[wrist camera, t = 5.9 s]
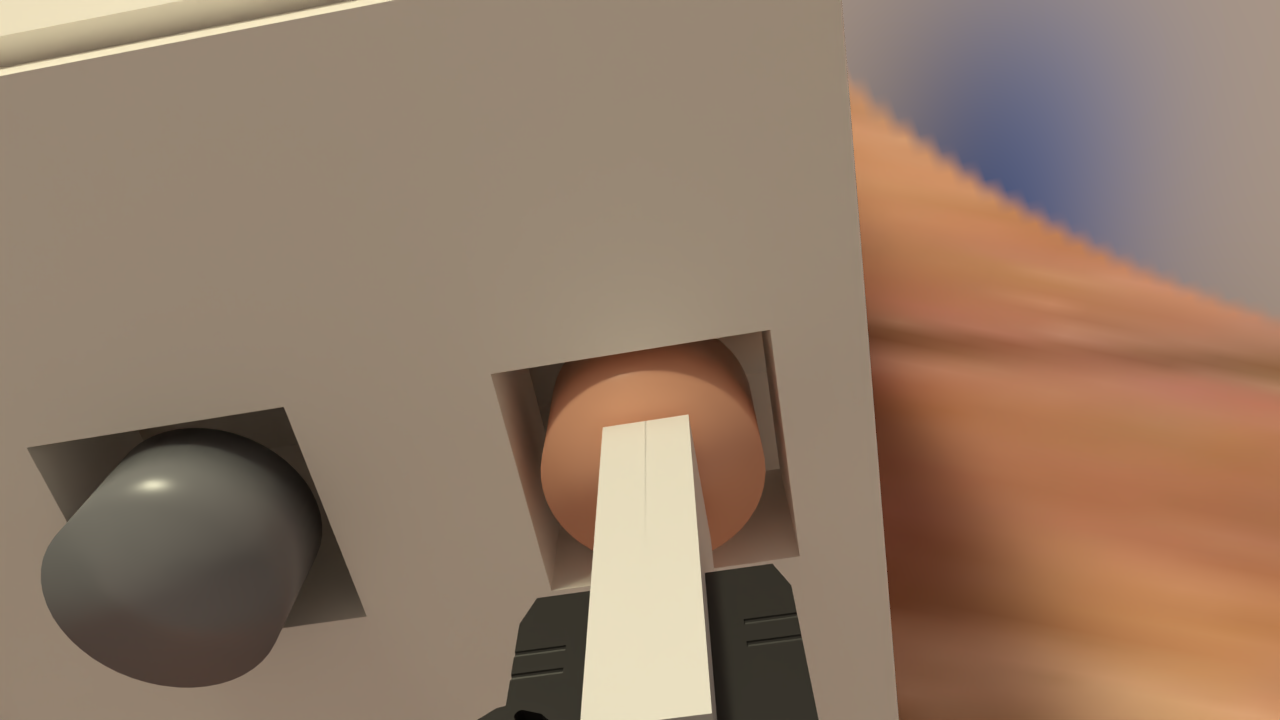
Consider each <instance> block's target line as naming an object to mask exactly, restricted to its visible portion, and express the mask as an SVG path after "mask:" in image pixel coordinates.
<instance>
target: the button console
mask: <svg viewBox="0 0 1280 720" xmlns="http://www.w3.org/2000/svg"><path fill="white" fill-rule="evenodd" d="M715 338H717V339H718V340H720V341H721V342H722V343H723V344H724V345H725V346H726V347H727V348H729V349H730V350H731V352H732V353H733V354H734V355H735V357H736V358H737V359H738V361H739V362H740V364H741V366H742V368H743V369H744V371H745V374H746V376H747V379H748V382H749V386H750V390H751V395H752V400H753V404H754V409H755V414H756V419H757V424H758V429H759V434H760V438H761V443H762V448H763V453H764V458H765V471H766V472H765V483H764V487H763V491H762V495H761V498H760V500H759V503H758V505H757V507H756V509H755V511H754V512H753V514H752V516H751V517H750V519H749V520H748V521H747V523H746V524H745V525H744V526H743V528H742V529H741V530H740V531H739V532H738V533H736V534H735V535H734V536H733V537H732V538H731V539H729V540H728V541H727V542H725V543H724V544H723V545H721V546H719V547H718V548H716V549H714V550H713V551H712V554H713V565H714V571H722V570H729V569H736V568H743V567H751V566H758V565H765V564H773V565H774V566H775V567H776V568H777V569H778V571H779V572H780V573H781V574H782V575H783V576H784V577H785V579H786V580H787V581H788V582H789V583H790V584H791V586H792V591H793V596H794V601H795V606H796V611H797V616H798V621H799V625H800V630H801V636H802V640H803V645H804V650H805V655H806V660H807V665H808V670H809V675H810V680H811V685H812V689H813V694H814V699H815V704H816V709H817V714H818V719H819V720H899V715H898V703H897V690H896V678H895V665H894V652H893V640H892V627H891V615H890V602H889V589H888V577H887V564H886V552H885V539H884V526H883V514H882V501H881V489H880V476H879V463H878V451H877V438H876V426H875V413H874V400H873V388H872V375H871V363H870V350H869V337H868V325H867V312H866V300H865V287H864V274H863V262H862V249H861V237H860V224H859V212H858V199H857V186H856V174H855V161H854V149H853V136H852V123H851V111H850V98H849V86H848V73H847V60H846V49H845V35H844V24H843V10H842V0H0V720H478V719H479V718H481V717H483V716H484V715H486V714H487V713H489V712H491V711H492V710H494V709H496V708H499V707H503V706H506V701H507V695H508V689H509V683H510V680H511V679H512V678H511V671H512V665H513V659H514V657H515V647H516V641H517V635H518V629H519V624H520V622H521V621H522V619H523V618H524V617H525V615H526V614H527V612H528V611H529V609H530V608H531V606H532V605H533V603H534V602H535V600H536V599H537V598H541V597H548V596H556V595H563V594H570V593H578V592H585V591H590V588H591V575H592V562H593V550H591V549H589V548H588V547H586V546H584V545H583V544H581V543H580V542H578V541H577V540H576V539H575V538H574V537H572V536H571V535H570V534H569V533H568V532H567V531H566V530H565V529H564V528H563V527H562V526H561V525H560V523H559V522H558V521H557V519H556V518H555V516H554V515H553V513H552V511H551V509H550V507H549V506H548V504H547V501H546V498H545V495H544V492H543V487H542V482H541V461H542V453H543V448H544V442H545V436H546V430H547V424H548V418H549V413H550V407H551V401H552V395H553V389H554V386H555V382H556V379H557V376H558V374H559V372H560V370H561V368H562V366H563V365H564V363H565V362H570V361H576V360H582V359H589V358H595V357H601V356H608V355H614V354H620V353H626V352H633V351H639V350H645V349H652V348H658V347H664V346H671V345H677V344H683V343H689V342H696V341H702V340H708V339H715ZM184 428H209V429H217V430H222V431H226V432H231V433H235V434H238V435H240V436H243V437H246V438H249V439H251V440H253V441H255V442H257V443H260V444H262V445H263V446H265V447H267V448H268V449H270V450H272V451H273V452H275V453H276V454H278V455H279V456H280V457H282V458H283V459H284V460H286V461H287V462H288V463H289V464H290V465H291V466H292V467H293V468H294V469H295V470H296V471H297V472H298V473H299V474H300V476H301V477H302V478H303V479H304V480H305V482H306V483H307V485H308V486H309V488H310V489H311V491H312V493H313V495H314V497H315V499H316V501H317V504H318V507H319V510H320V514H321V520H322V539H321V545H320V548H319V551H318V554H317V556H316V558H315V560H314V562H313V565H312V567H311V569H310V571H309V573H308V575H307V577H306V579H305V581H304V584H303V586H302V588H301V590H300V592H299V594H298V596H297V598H296V600H295V603H294V605H293V607H292V609H291V611H290V613H289V615H288V617H287V619H286V622H285V624H284V626H283V628H282V630H281V632H280V634H279V636H278V638H277V641H276V643H275V644H274V646H273V648H272V650H271V651H270V653H269V654H268V655H267V656H266V658H265V659H264V660H263V661H262V662H261V663H260V664H259V665H257V666H256V667H255V668H254V669H252V670H251V671H249V672H248V673H246V674H244V675H242V676H240V677H238V678H236V679H234V680H231V681H228V682H225V683H221V684H217V685H212V686H207V687H195V688H178V687H169V686H161V685H156V684H151V683H147V682H143V681H140V680H137V679H133V678H131V677H128V676H126V675H123V674H121V673H118V672H116V671H114V670H112V669H110V668H108V667H106V666H104V665H103V664H101V663H100V662H98V661H96V660H95V659H93V658H92V657H90V656H89V655H88V654H86V653H85V652H84V651H82V650H81V649H80V648H79V647H78V646H77V645H76V644H74V643H73V642H72V641H71V640H70V639H69V638H68V637H67V635H66V634H65V633H64V632H63V631H62V630H61V628H60V627H59V626H58V624H57V623H56V621H55V620H54V618H53V617H52V615H51V613H50V611H49V609H48V607H47V604H46V601H45V598H44V595H43V592H42V585H41V566H42V561H43V557H44V555H45V552H46V550H47V547H48V546H49V544H50V543H51V541H52V540H53V538H54V537H55V535H56V534H57V533H58V532H59V531H60V530H61V529H62V528H63V526H64V525H65V524H66V523H67V522H68V521H69V520H70V518H71V517H72V516H73V515H74V514H75V513H76V512H77V510H78V509H79V508H80V507H81V506H82V505H83V504H84V502H85V501H86V500H87V499H88V498H89V497H90V496H91V495H92V493H93V492H94V491H95V490H96V489H97V488H98V487H99V485H100V484H101V483H102V482H103V481H104V480H105V479H106V477H107V476H108V475H109V474H110V473H111V472H112V471H113V469H114V468H115V467H116V466H117V465H118V464H119V463H120V462H121V460H122V459H123V458H124V457H125V456H126V455H127V454H128V453H129V452H130V451H131V450H132V449H133V448H134V447H136V446H137V445H138V444H139V443H141V442H143V441H144V440H146V439H148V438H150V437H152V436H155V435H157V434H160V433H163V432H166V431H171V430H175V429H184Z"/></svg>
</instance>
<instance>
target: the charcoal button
mask: <svg viewBox="0 0 1280 720" xmlns="http://www.w3.org/2000/svg"><path fill="white" fill-rule="evenodd" d="M321 539H322V520H321V514H320V510H319V507H318V504H317V501H316V499H315V497H314V495H313V493H312V491H311V489H310V488H309V486H308V485H307V483H306V482H305V480H304V479H303V478H302V477H301V476H300V474H299V473H298V472H297V471H296V470H295V469H294V468H293V467H292V466H291V465H290V464H289V463H288V462H287V461H286V460H284V459H283V458H282V457H280V456H279V455H278V454H276V453H275V452H273V451H272V450H270V449H268V448H267V447H265V446H263V445H262V444H260V443H257V442H255V441H253V440H251V439H249V438H246V437H243V436H240V435H238V434H235V433H231V432H226V431H222V430H217V429H209V428H184V429H175V430H171V431H166V432H163V433H160V434H157V435H155V436H152V437H150V438H148V439H146V440H144V441H143V442H141V443H139V444H138V445H137V446H136V447H134V448H133V449H132V450H131V451H130V452H129V453H128V454H127V455H126V456H125V457H124V458H123V459H122V460H121V462H120V463H119V464H118V465H117V466H116V467H115V468H114V469H113V471H112V472H111V473H110V474H109V475H108V476H107V477H106V479H105V480H104V481H103V482H102V483H101V484H100V485H99V487H98V488H97V489H96V490H95V491H94V492H93V493H92V495H91V496H90V497H89V498H88V499H87V500H86V501H85V502H84V504H83V505H82V506H81V507H80V508H79V509H78V510H77V512H76V513H75V514H74V515H73V516H72V517H71V518H70V520H69V521H68V522H67V523H66V524H65V525H64V526H63V528H62V529H61V530H60V531H59V532H58V533H57V534H56V535H55V537H54V538H53V540H52V541H51V543H50V544H49V546H48V547H47V550H46V552H45V555H44V557H43V561H42V566H41V585H42V592H43V595H44V598H45V601H46V604H47V607H48V609H49V611H50V613H51V615H52V617H53V618H54V620H55V621H56V623H57V624H58V626H59V627H60V628H61V630H62V631H63V632H64V633H65V634H66V635H67V637H68V638H69V639H70V640H71V641H72V642H73V643H74V644H76V645H77V646H78V647H79V648H80V649H81V650H82V651H84V652H85V653H86V654H88V655H89V656H90V657H92V658H93V659H95V660H96V661H98V662H100V663H101V664H103V665H104V666H106V667H108V668H110V669H112V670H114V671H116V672H118V673H121V674H123V675H126V676H128V677H131V678H133V679H137V680H140V681H143V682H147V683H151V684H156V685H161V686H169V687H178V688H195V687H207V686H212V685H217V684H221V683H225V682H228V681H231V680H234V679H236V678H238V677H240V676H242V675H244V674H246V673H248V672H249V671H251V670H252V669H254V668H255V667H256V666H257V665H259V664H260V663H261V662H262V661H263V660H264V659H265V658H266V656H267V655H268V654H269V653H270V651H271V650H272V648H273V646H274V644H275V643H276V641H277V638H278V636H279V634H280V632H281V630H282V628H283V626H284V624H285V622H286V619H287V617H288V615H289V613H290V611H291V609H292V607H293V605H294V603H295V600H296V598H297V596H298V594H299V592H300V590H301V588H302V586H303V584H304V581H305V579H306V577H307V575H308V573H309V571H310V569H311V567H312V565H313V562H314V560H315V558H316V556H317V554H318V551H319V548H320V545H321Z"/></svg>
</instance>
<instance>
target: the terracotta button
mask: <svg viewBox="0 0 1280 720" xmlns="http://www.w3.org/2000/svg"><path fill="white" fill-rule="evenodd" d="M681 415H689V420H690V426H691V431H692V437H693V443H694V448H695V454H696V459H697V465H698V470H699V476H700V482H701V487H702V493H703V498H704V504H705V509H706V515H707V520H708V526H709V532H710V537H711V544H712V551H713V550H714V549H716V548H718V547H719V546H721V545H723V544H724V543H725V542H727V541H728V540H729V539H731V538H732V537H733V536H734V535H735V534H736V533H738V532H739V531H740V530H741V529H742V528H743V526H744V525H745V524H746V523H747V521H748V520H749V519H750V517H751V516H752V514H753V512H754V511H755V509H756V507H757V505H758V503H759V500H760V498H761V495H762V491H763V487H764V483H765V472H766V471H765V458H764V453H763V448H762V443H761V438H760V434H759V429H758V424H757V419H756V414H755V409H754V404H753V400H752V395H751V390H750V386H749V382H748V379H747V376H746V374H745V371H744V369H743V368H742V366H741V364H740V362H739V361H738V359H737V358H736V357H735V355H734V354H733V353H732V352H731V350H730V349H729V348H727V347H726V346H725V345H724V344H723V343H722V342H721V341H720V340H718V339H717V338H715V339H708V340H702V341H696V342H689V343H683V344H677V345H671V346H664V347H658V348H652V349H645V350H639V351H633V352H626V353H620V354H614V355H608V356H601V357H595V358H589V359H582V360H576V361H570V362H565V363H564V365H563V366H562V368H561V370H560V372H559V374H558V376H557V379H556V382H555V386H554V389H553V395H552V401H551V407H550V413H549V418H548V424H547V430H546V436H545V442H544V448H543V453H542V461H541V482H542V487H543V492H544V495H545V498H546V501H547V504H548V506H549V507H550V509H551V511H552V513H553V515H554V516H555V518H556V519H557V521H558V522H559V523H560V525H561V526H562V527H563V528H564V529H565V530H566V531H567V532H568V533H569V534H570V535H571V536H572V537H574V538H575V539H576V540H577V541H578V542H580V543H581V544H583V545H584V546H586V547H588V548H589V549H591V550H593V548H594V535H595V522H596V509H597V496H598V483H599V470H600V457H601V444H602V431H603V427H608V426H615V425H622V424H628V423H635V422H642V421H648V420H655V419H661V418H668V417H675V416H681Z"/></svg>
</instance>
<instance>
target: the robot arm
mask: <svg viewBox="0 0 1280 720" xmlns="http://www.w3.org/2000/svg"><path fill="white" fill-rule="evenodd" d="M511 678H512V679H511V680H510V683H509V689H508V695H507V701H506V706H503V707H499V708H496V709H494V710H492V711H491V712H489V713H487V714H486V715H484V716H483V717H481V718H479V719H478V720H819V719H818V714H817V709H816V704H815V699H814V694H813V689H812V685H811V680H810V675H809V670H808V665H807V660H806V655H805V650H804V645H803V640H802V636H801V630H800V625H799V621H798V616H797V611H796V606H795V601H794V596H793V591H792V586H791V584H790V583H789V582H788V581H787V580H786V579H785V577H784V576H783V575H782V574H781V573H780V572H779V571H778V569H777V568H776V567H775V566H774V565H773V564H765V565H758V566H751V567H743V568H736V569H729V570H722V571H714V565H713V554H712V544H711V537H710V532H709V526H708V520H707V515H706V509H705V504H704V498H703V493H702V487H701V482H700V476H699V470H698V465H697V459H696V454H695V448H694V443H693V437H692V431H691V426H690V420H689V415H681V416H675V417H668V418H661V419H655V420H648V421H642V422H635V423H628V424H622V425H615V426H608V427H603V431H602V444H601V457H600V470H599V483H598V496H597V509H596V522H595V535H594V548H593V562H592V575H591V588H590V591H585V592H578V593H570V594H563V595H556V596H548V597H541V598H537V599H536V600H535V602H534V603H533V605H532V606H531V608H530V609H529V611H528V612H527V614H526V615H525V617H524V618H523V619H522V621H521V622H520V624H519V629H518V635H517V641H516V647H515V657H514V659H513V665H512V671H511Z"/></svg>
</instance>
